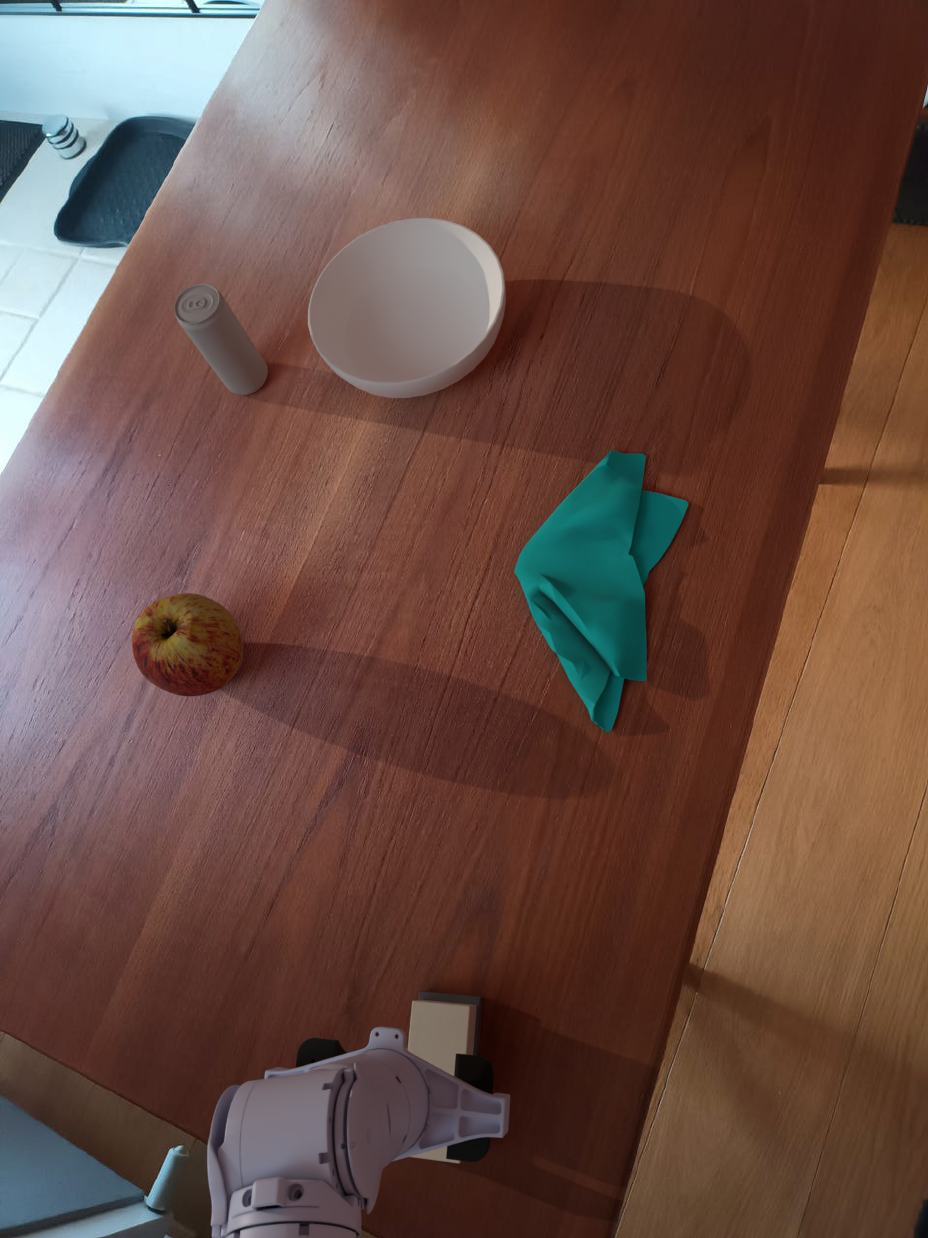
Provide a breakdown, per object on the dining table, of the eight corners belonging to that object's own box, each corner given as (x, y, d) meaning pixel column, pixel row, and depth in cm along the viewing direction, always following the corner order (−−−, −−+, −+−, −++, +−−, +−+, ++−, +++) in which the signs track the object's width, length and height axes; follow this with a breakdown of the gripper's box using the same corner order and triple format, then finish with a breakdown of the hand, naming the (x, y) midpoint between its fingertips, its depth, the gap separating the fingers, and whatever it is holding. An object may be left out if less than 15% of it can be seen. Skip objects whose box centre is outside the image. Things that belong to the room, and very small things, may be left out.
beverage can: (267, 395, 98) (217, 321, 87) (223, 400, 99) (169, 327, 88) (272, 356, 100) (223, 278, 89) (228, 361, 101) (175, 284, 90)
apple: (151, 689, 89) (92, 655, 79) (197, 604, 91) (145, 561, 82) (231, 724, 86) (180, 693, 77) (277, 635, 88) (232, 594, 79)
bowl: (530, 393, 92) (521, 355, 86) (337, 440, 94) (316, 406, 89) (497, 239, 99) (487, 195, 94) (319, 287, 102) (299, 246, 96)
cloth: (558, 439, 90) (555, 426, 88) (704, 465, 86) (705, 452, 84) (474, 697, 82) (469, 690, 80) (630, 739, 78) (630, 732, 76)
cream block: (471, 1157, 70) (460, 1167, 66) (408, 1149, 71) (394, 1158, 67) (482, 997, 74) (473, 997, 70) (422, 991, 75) (410, 991, 71)
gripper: (497, 1047, 51) (529, 1030, 63) (243, 1020, 54) (321, 1008, 66) (487, 1198, 48) (522, 1149, 61) (223, 1161, 51) (308, 1122, 64)
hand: (417, 1084), depth 63 cm, fingers open, 7 cm apart
